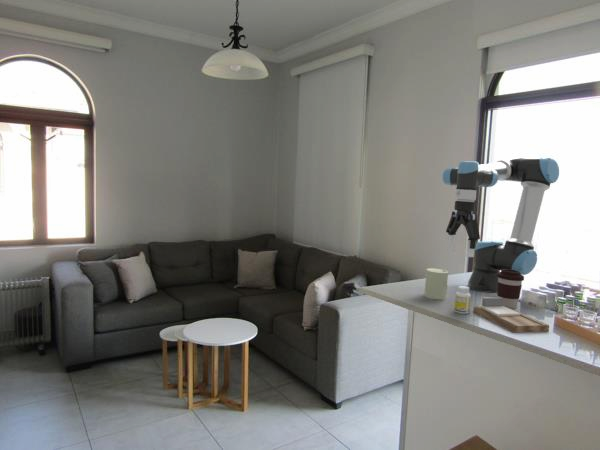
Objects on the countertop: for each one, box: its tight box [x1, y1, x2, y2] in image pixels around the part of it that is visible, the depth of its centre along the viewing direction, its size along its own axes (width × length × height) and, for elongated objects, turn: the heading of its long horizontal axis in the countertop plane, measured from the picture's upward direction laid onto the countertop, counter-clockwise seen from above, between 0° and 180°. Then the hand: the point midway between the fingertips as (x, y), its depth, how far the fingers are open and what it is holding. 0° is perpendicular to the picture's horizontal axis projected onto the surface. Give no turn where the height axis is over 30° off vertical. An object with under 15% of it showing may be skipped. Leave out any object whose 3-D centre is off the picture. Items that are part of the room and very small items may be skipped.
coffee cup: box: [496, 269, 525, 310], centre depth 172 cm, size 10×10×15 cm
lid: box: [479, 296, 521, 316], centre depth 157 cm, size 9×10×4 cm
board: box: [472, 305, 550, 333], centre depth 154 cm, size 14×22×2 cm, turn 13°
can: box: [423, 267, 449, 301], centre depth 182 cm, size 9×9×12 cm
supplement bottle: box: [454, 285, 472, 315], centre depth 161 cm, size 5×5×10 cm
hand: (460, 253), depth 169 cm, fingers open, 13 cm apart
